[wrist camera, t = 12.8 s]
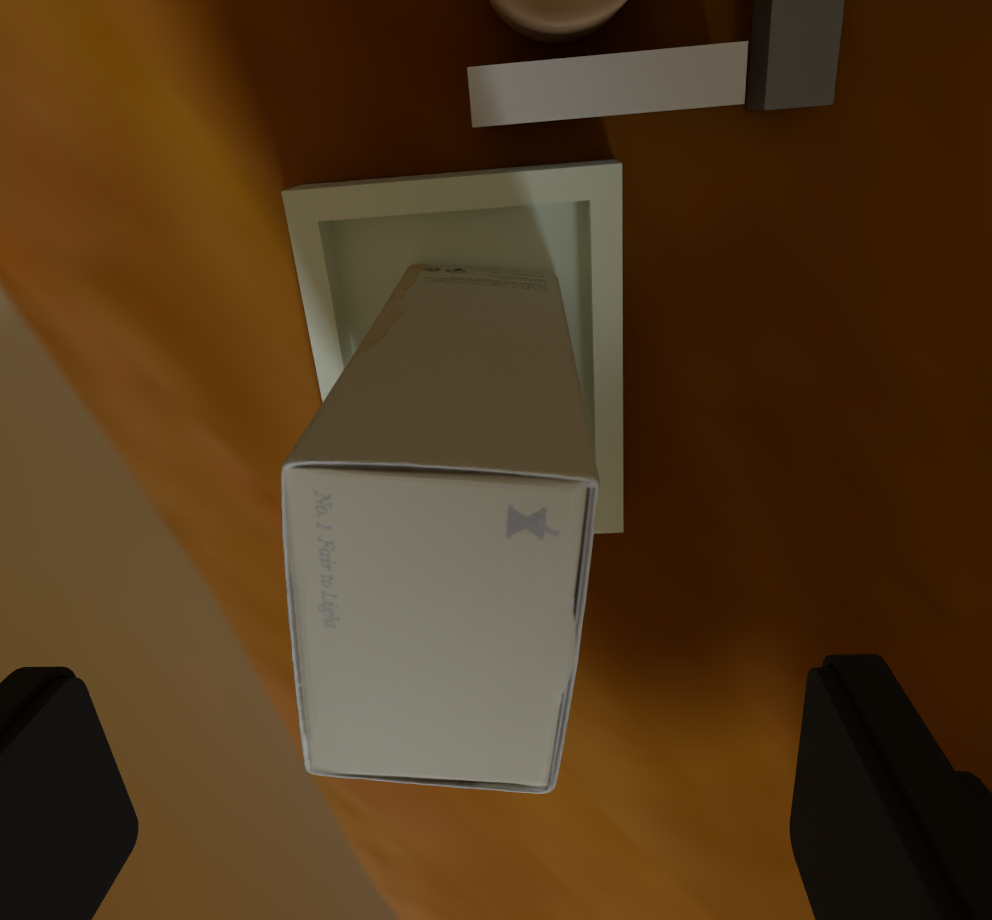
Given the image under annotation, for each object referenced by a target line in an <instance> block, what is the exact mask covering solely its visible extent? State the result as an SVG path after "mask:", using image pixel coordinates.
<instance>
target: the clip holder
mask: <svg viewBox="0 0 992 920" xmlns="http://www.w3.org/2000/svg"><path fill="white" fill-rule="evenodd" d="M844 3H845V0H753V14H752V30H751V46H750V62H749V77H748V93H747V109H746V111H764V110H776V109H788V108H799V107H811V106H822V105H833V102H834V93H835V84H836V75H837V66H838V57H839V48H840V39H841V30H842V21H843V12H844ZM747 54H748V41H742V42H731V43H720V44H710V45H699V46H688V47H678V48H667V49H656V50H645V51H635V52H624V53H613V54H603V55H592V56H581V57H570V58H560V59H549V60H538V61H528V62H517V63H506V64H495V65H485V66H474V67H467V72H468V83H469V95H470V107H471V119H472V128H473V127H485V126H496V125H508V124H519V123H531V122H542V121H554V120H565V119H576V118H588V117H599V116H611V115H622V114H634V113H645V112H657V111H668V110H680V109H691V108H703V107H714V106H726V105H737V104H744V102H745V86H746V70H747Z"/></svg>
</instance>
